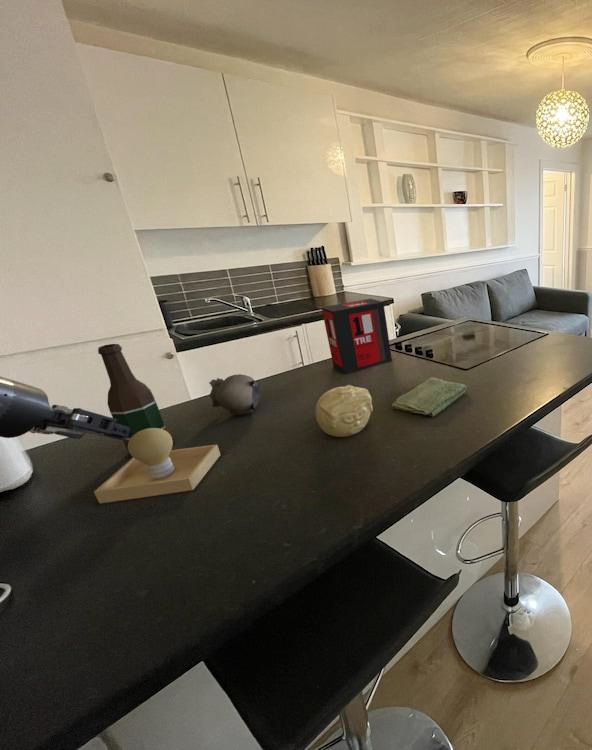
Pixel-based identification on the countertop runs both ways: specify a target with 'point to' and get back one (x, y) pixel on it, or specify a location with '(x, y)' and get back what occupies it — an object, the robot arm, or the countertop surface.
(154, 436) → the light bulb
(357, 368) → the cleaning product box
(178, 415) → the countertop surface
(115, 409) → the beer bottle
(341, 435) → the sculpture
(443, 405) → the washcloth
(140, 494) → the pale tray
